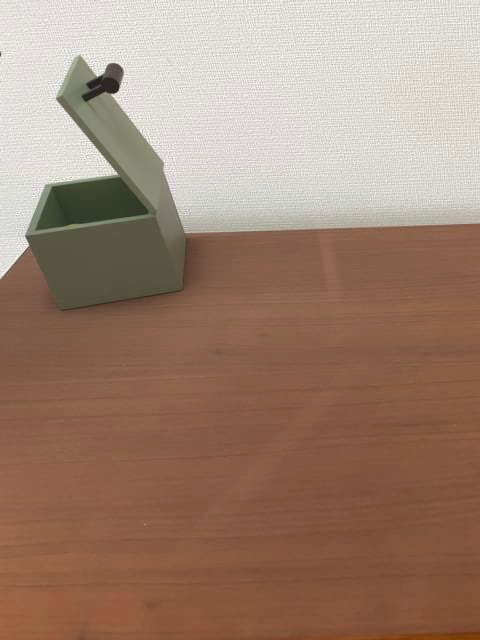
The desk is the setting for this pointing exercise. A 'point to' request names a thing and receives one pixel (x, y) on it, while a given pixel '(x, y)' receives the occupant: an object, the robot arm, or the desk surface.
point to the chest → (106, 242)
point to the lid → (112, 128)
